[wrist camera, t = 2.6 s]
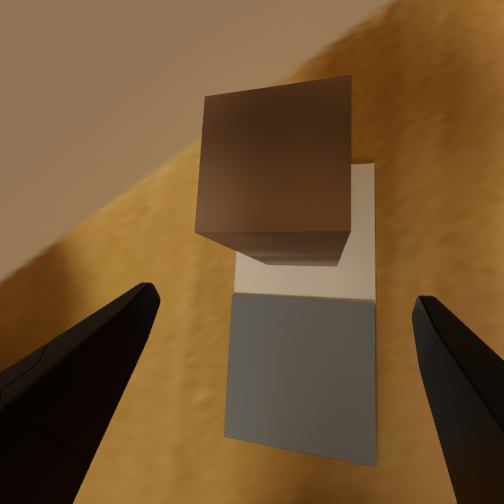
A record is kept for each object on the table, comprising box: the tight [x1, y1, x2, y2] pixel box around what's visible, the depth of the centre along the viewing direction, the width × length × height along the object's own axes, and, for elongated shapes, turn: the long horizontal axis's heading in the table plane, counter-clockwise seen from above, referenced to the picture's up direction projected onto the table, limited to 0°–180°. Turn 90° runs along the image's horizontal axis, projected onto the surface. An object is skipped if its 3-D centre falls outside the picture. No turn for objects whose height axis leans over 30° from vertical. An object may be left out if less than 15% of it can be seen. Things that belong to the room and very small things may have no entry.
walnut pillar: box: [195, 75, 351, 267], centre depth 15 cm, size 5×5×12 cm
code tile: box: [234, 163, 376, 305], centre depth 21 cm, size 10×10×1 cm
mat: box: [224, 295, 376, 467], centre depth 19 cm, size 10×10×1 cm
